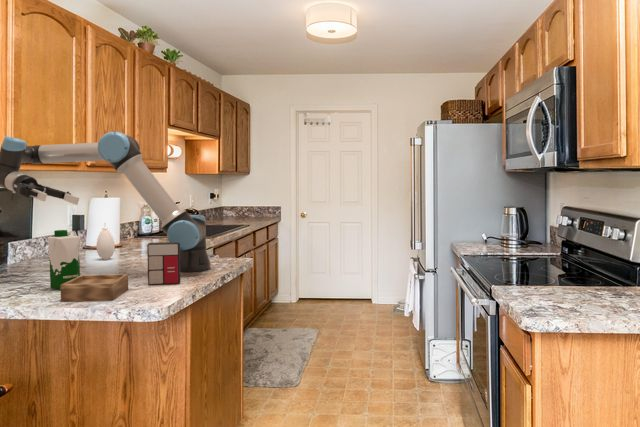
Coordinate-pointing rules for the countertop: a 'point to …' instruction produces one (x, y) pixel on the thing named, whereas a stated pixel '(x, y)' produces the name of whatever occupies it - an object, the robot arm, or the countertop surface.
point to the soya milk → (63, 258)
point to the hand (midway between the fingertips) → (62, 199)
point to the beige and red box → (163, 263)
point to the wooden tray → (94, 288)
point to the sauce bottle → (105, 244)
